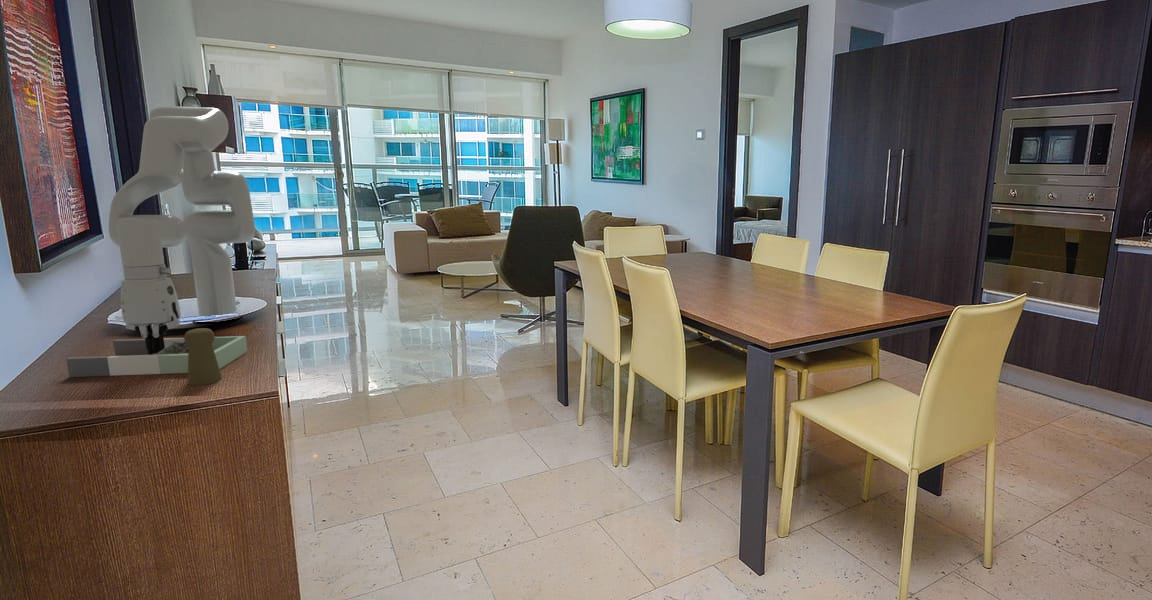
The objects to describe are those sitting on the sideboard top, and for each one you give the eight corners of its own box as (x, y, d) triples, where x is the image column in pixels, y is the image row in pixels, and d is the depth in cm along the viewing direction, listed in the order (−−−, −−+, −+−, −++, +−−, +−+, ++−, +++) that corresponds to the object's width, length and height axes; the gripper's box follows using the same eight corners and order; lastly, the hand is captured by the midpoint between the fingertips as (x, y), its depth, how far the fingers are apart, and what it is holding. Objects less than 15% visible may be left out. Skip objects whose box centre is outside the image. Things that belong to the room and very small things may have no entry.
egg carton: (187, 367, 127) (182, 349, 126) (150, 371, 127) (146, 353, 126) (211, 352, 138) (207, 336, 137) (177, 355, 137) (173, 339, 136)
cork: (221, 382, 120) (215, 330, 118) (186, 387, 117) (179, 334, 115) (222, 374, 125) (216, 324, 123) (188, 379, 122) (181, 327, 120)
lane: (118, 355, 139) (116, 339, 138) (247, 351, 142) (245, 335, 142) (69, 377, 124) (66, 358, 123) (215, 371, 127) (213, 354, 126)
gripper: (190, 270, 133) (200, 348, 137) (120, 271, 132) (131, 350, 135) (171, 275, 126) (182, 357, 129) (96, 276, 124) (109, 359, 128)
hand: (156, 353), depth 132 cm, fingers closed
